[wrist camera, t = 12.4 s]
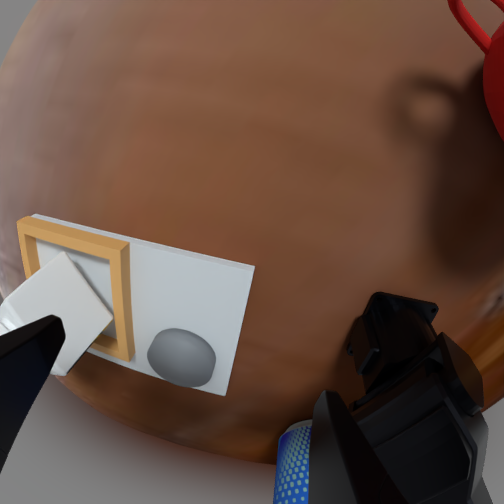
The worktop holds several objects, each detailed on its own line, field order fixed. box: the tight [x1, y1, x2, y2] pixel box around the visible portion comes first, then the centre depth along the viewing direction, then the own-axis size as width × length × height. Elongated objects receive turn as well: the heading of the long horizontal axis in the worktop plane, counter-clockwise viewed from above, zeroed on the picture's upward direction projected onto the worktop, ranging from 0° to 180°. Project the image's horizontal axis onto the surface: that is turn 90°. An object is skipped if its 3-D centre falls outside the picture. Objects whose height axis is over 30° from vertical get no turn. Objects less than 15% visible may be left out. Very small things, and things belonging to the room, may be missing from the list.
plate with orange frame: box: [17, 214, 255, 396], centre depth 24 cm, size 22×15×2 cm
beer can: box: [273, 419, 312, 504], centre depth 23 cm, size 8×8×16 cm
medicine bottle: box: [0, 251, 113, 376], centre depth 18 cm, size 7×7×12 cm
